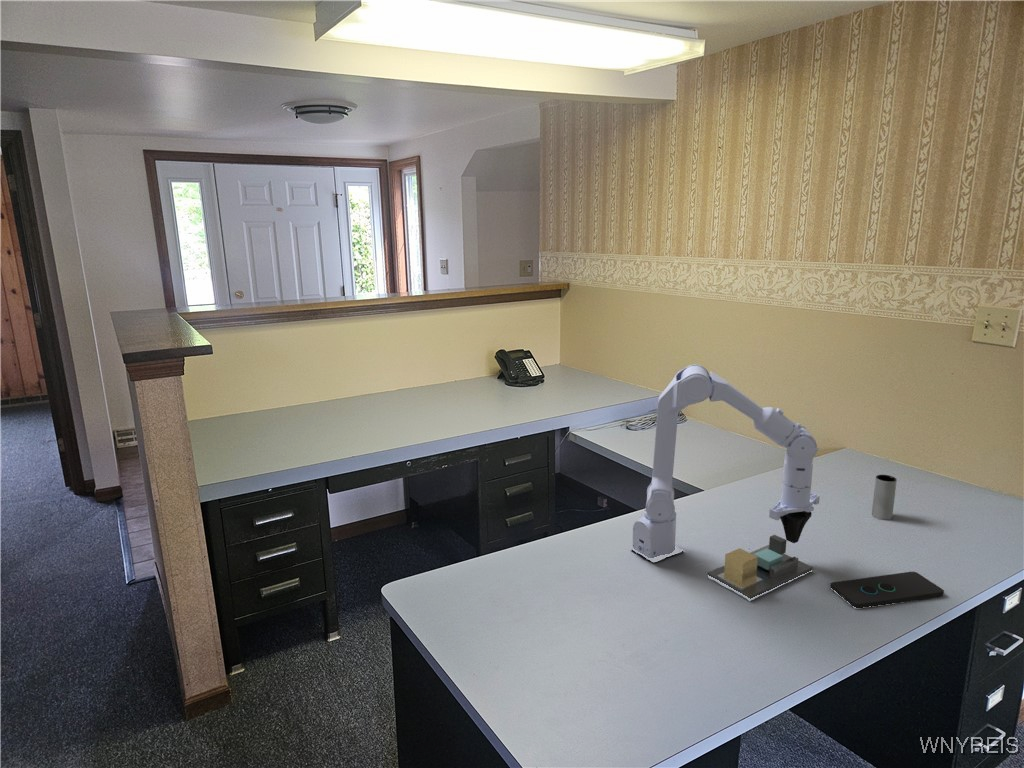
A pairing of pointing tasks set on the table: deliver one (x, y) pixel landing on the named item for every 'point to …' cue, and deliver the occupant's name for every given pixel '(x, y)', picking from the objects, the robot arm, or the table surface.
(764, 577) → the press bed
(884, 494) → the grey cylinder
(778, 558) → the teal and grey block
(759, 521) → the table surface
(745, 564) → the block
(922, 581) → the smart home device
